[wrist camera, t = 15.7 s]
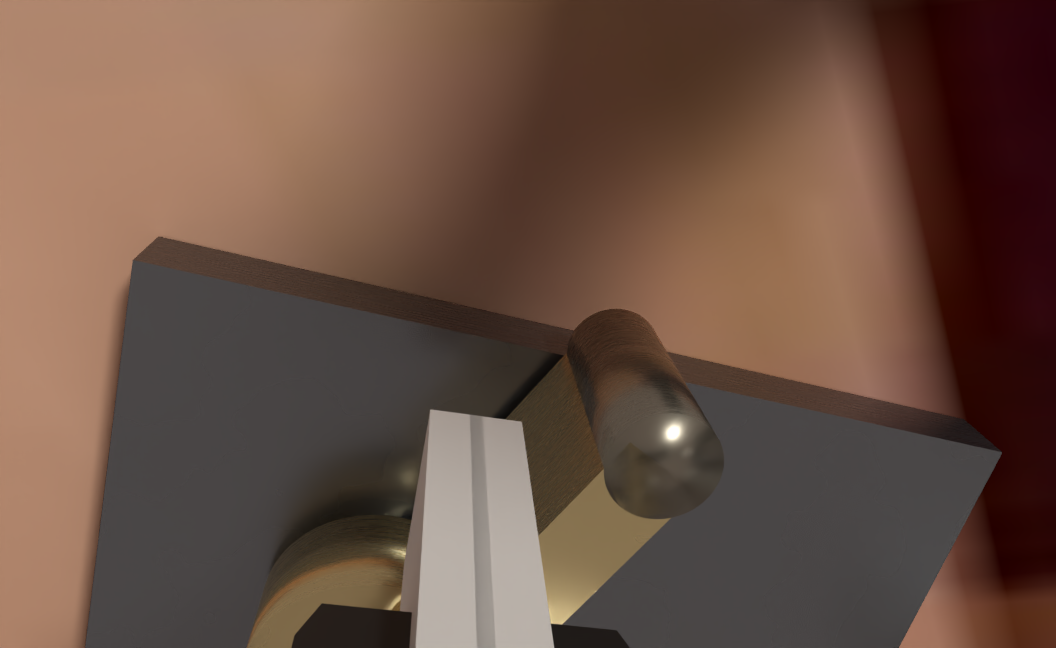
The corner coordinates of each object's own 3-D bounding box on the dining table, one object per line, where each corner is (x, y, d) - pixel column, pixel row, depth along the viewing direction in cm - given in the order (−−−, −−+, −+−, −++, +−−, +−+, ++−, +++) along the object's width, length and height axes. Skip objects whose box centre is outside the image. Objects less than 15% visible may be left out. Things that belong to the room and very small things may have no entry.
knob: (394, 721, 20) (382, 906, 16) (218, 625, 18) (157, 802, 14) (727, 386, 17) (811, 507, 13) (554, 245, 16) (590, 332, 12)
